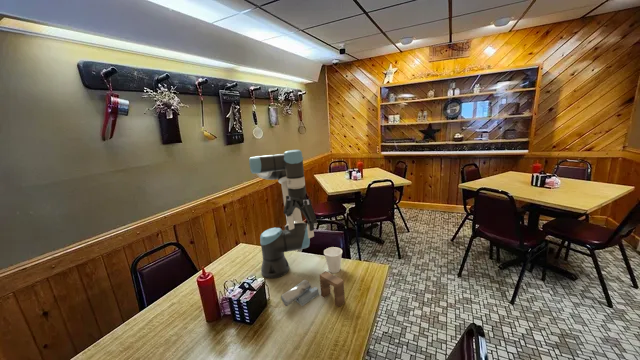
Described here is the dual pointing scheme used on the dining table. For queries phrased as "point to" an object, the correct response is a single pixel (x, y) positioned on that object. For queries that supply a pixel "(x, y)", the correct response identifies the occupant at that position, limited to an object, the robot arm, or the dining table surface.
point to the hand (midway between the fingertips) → (301, 232)
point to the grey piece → (295, 292)
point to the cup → (333, 258)
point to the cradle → (308, 296)
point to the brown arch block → (336, 282)
